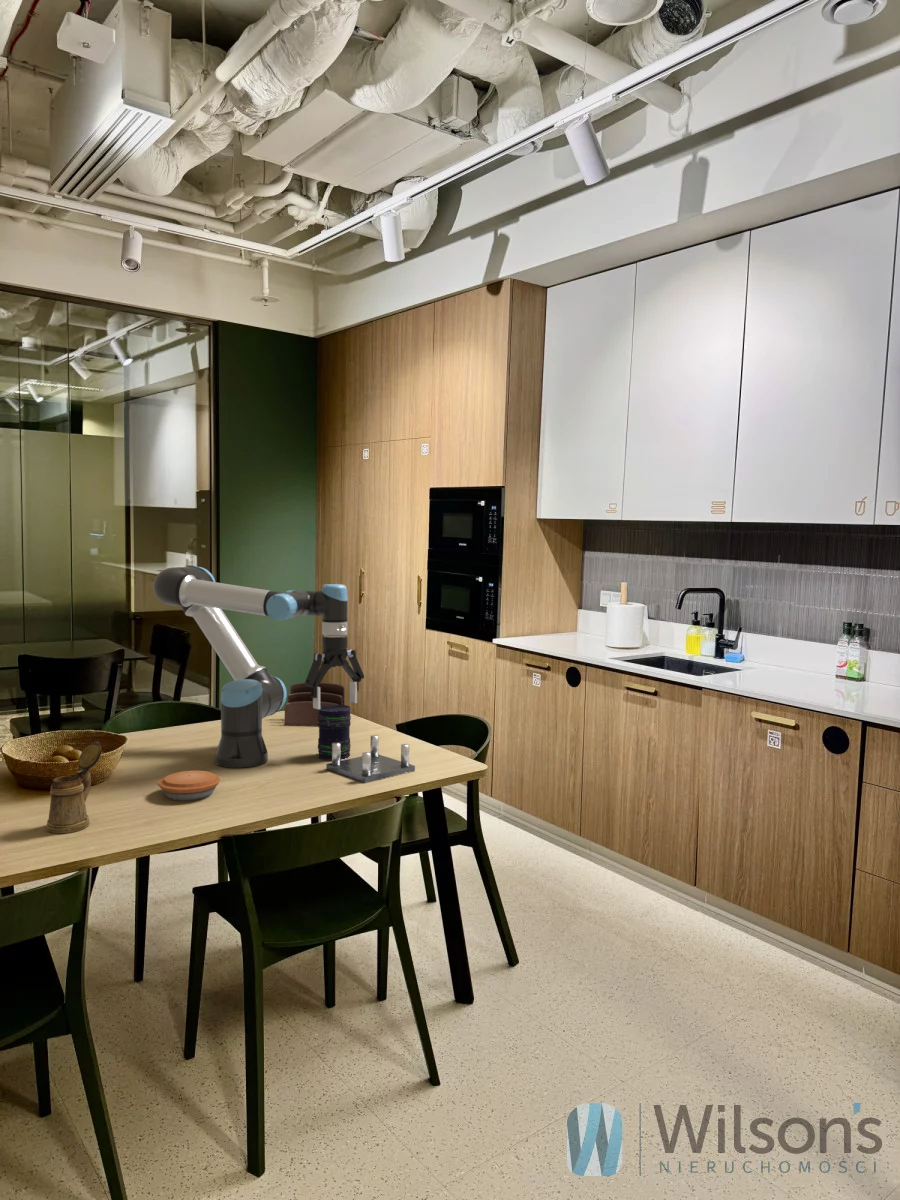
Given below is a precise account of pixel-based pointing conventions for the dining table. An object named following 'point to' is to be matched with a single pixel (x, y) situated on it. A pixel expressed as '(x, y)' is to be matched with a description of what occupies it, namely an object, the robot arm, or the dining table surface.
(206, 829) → the dining table surface
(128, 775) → the dining table surface
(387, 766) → the post base
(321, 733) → the storage jar
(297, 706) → the letter holder
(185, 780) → the pie
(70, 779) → the wooden mug
